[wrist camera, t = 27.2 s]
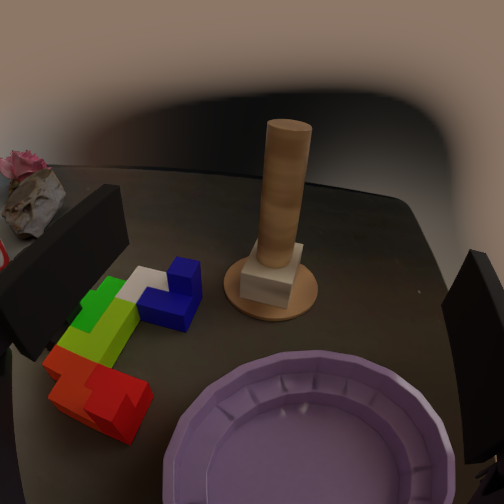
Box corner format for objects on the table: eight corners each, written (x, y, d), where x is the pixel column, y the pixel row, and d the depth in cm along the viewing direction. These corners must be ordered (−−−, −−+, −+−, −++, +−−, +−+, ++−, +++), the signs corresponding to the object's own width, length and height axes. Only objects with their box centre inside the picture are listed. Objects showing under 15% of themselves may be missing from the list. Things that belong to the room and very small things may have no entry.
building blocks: (91, 268, 31) (81, 234, 28) (203, 298, 29) (201, 260, 26) (6, 376, 19) (-19, 345, 16) (131, 446, 17) (112, 422, 14)
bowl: (418, 398, 21) (445, 366, 18) (405, 592, 8) (443, 594, 5) (218, 364, 23) (217, 327, 21) (142, 560, 11) (119, 563, 8)
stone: (61, 175, 32) (-12, 203, 27) (75, 228, 36) (8, 255, 31) (57, 156, 39) (-1, 179, 35) (67, 200, 44) (12, 221, 39)
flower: (48, 191, 52) (66, 148, 48) (35, 221, 45) (53, 173, 41) (1, 171, 45) (16, 125, 41) (-18, 198, 38) (-5, 147, 34)
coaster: (320, 266, 34) (321, 263, 33) (312, 330, 27) (313, 327, 26) (238, 250, 35) (238, 247, 35) (210, 308, 28) (210, 305, 28)
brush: (257, 258, 33) (269, 112, 24) (298, 268, 32) (323, 121, 24) (239, 297, 29) (248, 129, 20) (287, 309, 28) (316, 139, 19)
